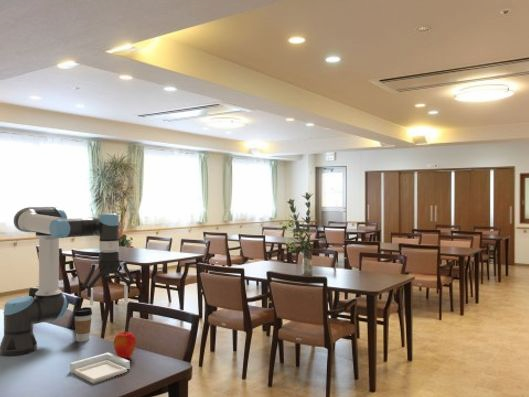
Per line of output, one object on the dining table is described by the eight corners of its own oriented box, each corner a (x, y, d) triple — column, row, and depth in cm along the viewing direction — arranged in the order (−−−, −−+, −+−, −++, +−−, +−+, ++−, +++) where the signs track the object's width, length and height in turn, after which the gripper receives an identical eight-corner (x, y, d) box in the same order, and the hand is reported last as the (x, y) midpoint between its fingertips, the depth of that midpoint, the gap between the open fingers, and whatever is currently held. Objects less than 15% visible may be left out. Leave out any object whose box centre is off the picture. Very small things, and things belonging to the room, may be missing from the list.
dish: (74, 374, 179) (74, 369, 179) (107, 364, 190) (107, 360, 190) (93, 383, 170) (93, 378, 170) (126, 372, 181) (126, 368, 181)
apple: (109, 359, 197) (109, 331, 197) (125, 353, 204) (126, 326, 204) (123, 363, 191) (123, 334, 191) (140, 357, 199) (140, 329, 199)
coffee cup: (95, 339, 225) (96, 308, 225) (80, 343, 217) (80, 311, 218) (84, 336, 229) (85, 306, 229) (69, 340, 222) (70, 309, 222)
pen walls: (69, 371, 182) (69, 362, 182) (107, 360, 195) (108, 352, 195) (90, 382, 172) (90, 372, 172) (129, 369, 185) (129, 360, 185)
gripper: (77, 253, 179) (77, 308, 178) (141, 250, 191) (141, 301, 191) (75, 251, 185) (75, 304, 185) (137, 248, 197) (137, 298, 197)
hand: (109, 303), depth 188 cm, fingers open, 13 cm apart
